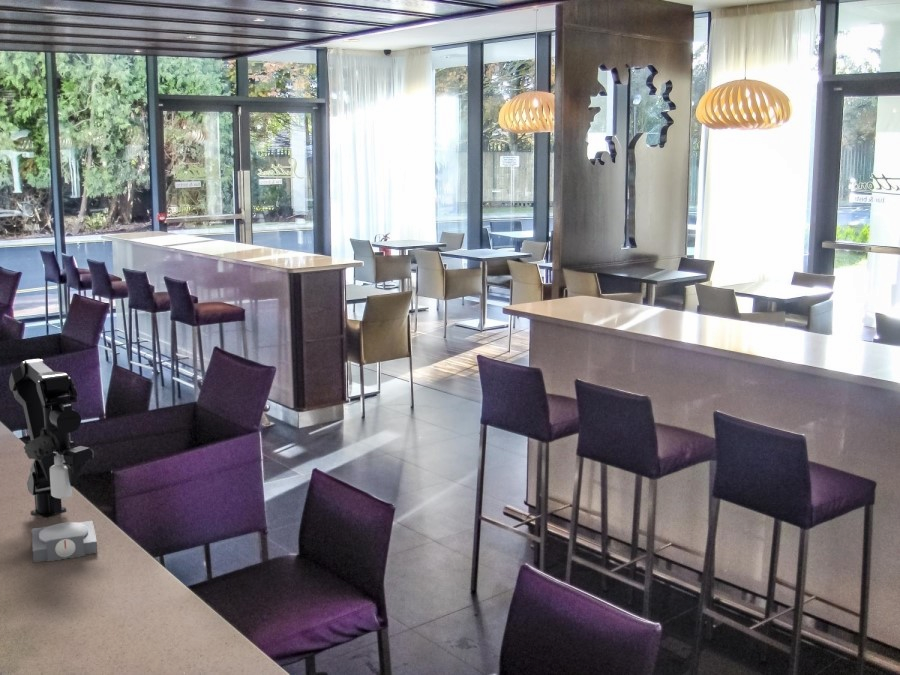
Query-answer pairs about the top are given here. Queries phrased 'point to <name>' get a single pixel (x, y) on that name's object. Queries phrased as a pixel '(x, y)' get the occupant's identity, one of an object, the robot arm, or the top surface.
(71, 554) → the dial scale
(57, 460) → the eye dropper bottle
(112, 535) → the top surface
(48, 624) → the top surface
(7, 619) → the top surface
